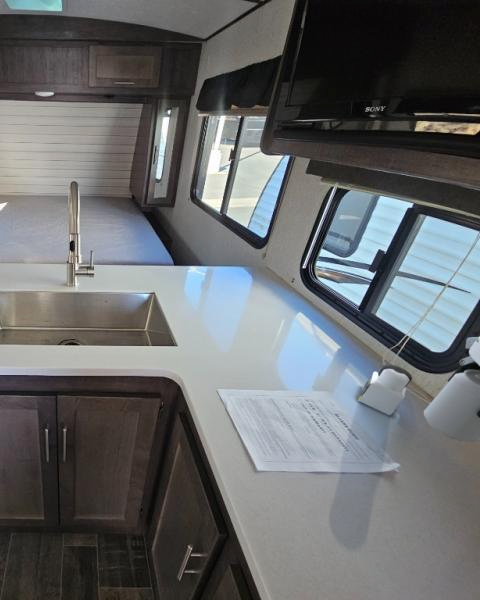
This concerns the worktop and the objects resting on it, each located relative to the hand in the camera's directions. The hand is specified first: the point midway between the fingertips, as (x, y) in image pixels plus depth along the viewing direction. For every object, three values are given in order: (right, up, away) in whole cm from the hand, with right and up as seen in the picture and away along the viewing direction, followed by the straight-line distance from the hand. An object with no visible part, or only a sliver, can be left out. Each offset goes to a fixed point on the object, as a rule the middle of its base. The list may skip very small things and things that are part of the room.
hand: (472, 400), depth 57 cm
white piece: (+14, -11, +34) cm, 39 cm away
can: (0, -6, +4) cm, 8 cm away
